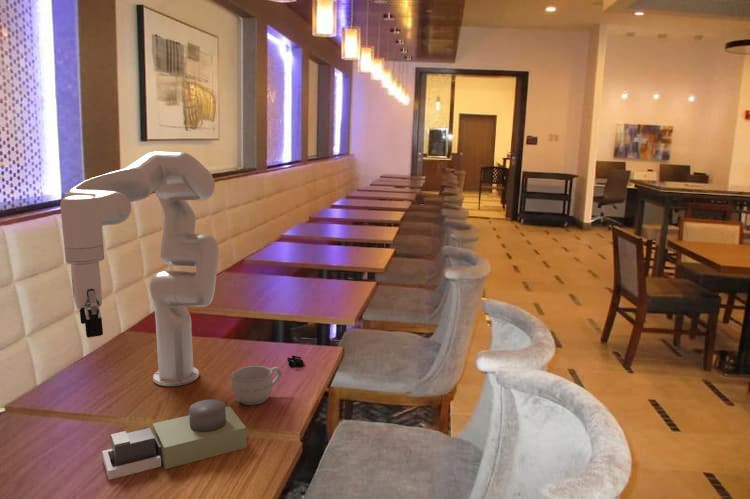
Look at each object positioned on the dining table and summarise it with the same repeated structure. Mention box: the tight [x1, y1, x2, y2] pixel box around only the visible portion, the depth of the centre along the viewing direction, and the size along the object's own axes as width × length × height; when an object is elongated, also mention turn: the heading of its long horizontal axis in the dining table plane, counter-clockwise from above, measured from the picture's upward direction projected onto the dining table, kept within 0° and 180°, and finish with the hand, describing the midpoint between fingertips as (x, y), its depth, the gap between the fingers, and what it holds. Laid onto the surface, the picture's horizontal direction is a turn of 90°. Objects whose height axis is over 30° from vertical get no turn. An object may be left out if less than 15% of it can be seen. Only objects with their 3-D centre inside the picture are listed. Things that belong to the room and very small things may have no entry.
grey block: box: [110, 427, 157, 467], centre depth 131 cm, size 5×8×7 cm, turn 121°
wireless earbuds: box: [286, 355, 304, 368], centre depth 185 cm, size 7×2×5 cm
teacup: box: [231, 365, 283, 406], centre depth 162 cm, size 14×11×8 cm
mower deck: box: [101, 398, 248, 481], centre depth 135 cm, size 12×29×9 cm, turn 121°
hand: (91, 329), depth 133 cm, fingers open, 9 cm apart
